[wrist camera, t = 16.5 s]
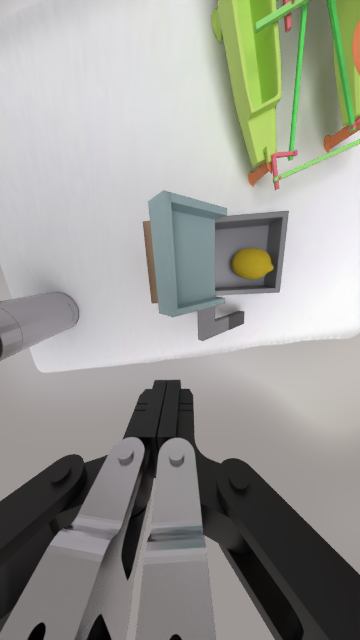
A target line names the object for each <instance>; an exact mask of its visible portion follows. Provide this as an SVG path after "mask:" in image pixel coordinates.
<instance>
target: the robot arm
mask: <svg viewBox="0 0 360 640" xmlns="http://www.w3.org/2000/svg"><path fill="white" fill-rule="evenodd" d="M78 317H79V312H78V308H77V306H76V304H75V302H74V301H73V300H72V299H71V298H70V297H69V296H67V295H65V294H63V293H59V292H53V293H47V294H41V295H35V296H29V297H23V298H17V299H11V300H5V301H0V361H1V360H3V359H5V358H7V357H9V356H11V355H14V354H16V353H18V352H20V351H22V350H24V349H26V348H28V347H30V346H32V345H35V344H37V343H39V342H41V341H43V340H45V339H47V338H49V337H51V336H54V335H56V334H58V333H60V332H62V331H64V330H66V329H68V328H70V327H72V326H74V325H75V324H76V322H77V321H78ZM154 478H156V485H155V495H154V506H153V516H152V526H151V533H150V536H149V538H148V540H147V545H146V551H145V558H144V567H143V576H142V585H141V594H140V604H139V612H138V621H137V630H136V639H135V640H216V634H215V625H214V615H213V606H212V598H211V588H210V579H209V570H208V562H207V552H206V544H205V537H204V535H205V536H207V537H209V538H210V539H212V540H214V541H216V542H217V543H219V546H220V547H221V549H222V551H223V553H224V554H225V556H226V558H227V560H228V561H229V563H230V565H231V566H232V568H233V569H234V571H235V573H236V575H237V576H238V578H239V580H240V581H241V583H242V585H243V587H244V588H245V590H246V591H247V593H248V595H249V597H250V598H251V600H252V602H253V603H254V605H255V607H256V608H257V610H258V612H259V613H260V615H261V617H262V618H263V620H264V622H265V623H266V625H267V627H268V628H269V630H270V632H271V633H272V635H273V637H274V639H275V640H360V575H359V574H358V573H357V572H356V571H355V570H354V569H353V568H352V567H351V566H350V565H349V564H348V563H347V562H346V561H345V560H344V559H343V558H342V557H341V556H340V555H339V554H338V553H337V552H336V551H335V550H334V549H333V548H332V547H331V546H330V545H329V544H328V543H327V542H326V541H325V540H324V539H323V538H322V537H321V536H320V535H319V534H318V533H317V532H316V531H315V530H314V529H313V528H312V527H311V526H310V525H309V524H308V523H307V522H306V521H305V520H304V519H303V518H302V517H301V516H300V515H299V514H298V513H297V512H296V511H295V510H294V509H293V508H292V507H291V506H290V505H289V504H288V503H287V502H286V501H285V500H284V499H283V498H282V497H281V496H280V495H279V494H277V492H276V491H274V489H273V488H271V486H269V484H268V483H266V482H265V480H264V479H263V478H262V477H261V476H260V475H258V474H257V473H256V472H255V471H254V470H253V469H252V468H251V467H250V466H249V465H248V464H247V463H245V462H244V461H241V460H239V459H235V458H231V459H227V460H224V461H223V462H222V463H221V464H220V463H218V462H215V461H213V460H210V459H208V458H206V457H205V456H204V455H202V454H201V453H200V451H199V450H198V448H197V447H196V444H195V439H194V411H193V395H192V393H191V391H190V389H181V382H180V380H155V382H154V385H153V388H152V389H146V390H145V391H144V392H143V393H142V394H141V395H140V397H139V399H138V402H137V405H136V407H135V409H134V412H133V414H132V417H131V419H130V422H129V425H128V427H127V430H126V432H125V435H124V437H123V439H122V440H121V441H119V442H118V443H117V444H116V445H114V446H113V448H112V449H111V451H110V452H109V454H108V455H106V456H104V457H101V458H98V459H95V460H92V461H89V462H86V463H84V461H83V458H81V456H79V455H75V454H73V455H67V456H65V457H63V458H61V459H59V460H57V461H56V462H55V463H53V464H52V465H50V466H49V467H48V468H46V469H45V470H43V471H42V472H41V473H39V474H38V475H36V476H35V477H34V478H32V479H31V480H29V481H28V482H27V483H25V484H24V485H22V486H21V487H20V488H18V489H17V490H15V491H14V492H13V493H11V494H10V495H8V496H7V497H6V498H5V499H3V500H2V501H0V640H126V635H127V630H128V624H129V619H130V612H131V603H132V590H133V583H134V577H135V573H136V568H137V563H138V559H139V554H140V550H141V545H142V541H143V536H144V531H145V527H146V522H147V518H148V513H149V509H150V504H151V491H152V485H153V479H154Z"/></svg>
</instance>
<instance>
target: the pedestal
mask: <svg viewBox="0 0 360 640" xmlns="http://www.w3.org/2000/svg"><path fill="white" fill-rule="evenodd" d="M143 228H144V237H145V246H146V256H147V265H148V274H149V283H150V292H151V302H152V303H158V296H157V285H156V275H155V265H154V254H153V244H152V234H151V224H150V221H144V222H143Z"/></svg>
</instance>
